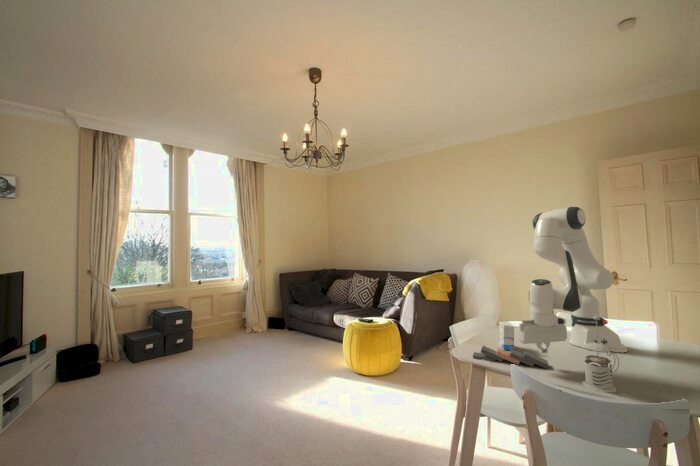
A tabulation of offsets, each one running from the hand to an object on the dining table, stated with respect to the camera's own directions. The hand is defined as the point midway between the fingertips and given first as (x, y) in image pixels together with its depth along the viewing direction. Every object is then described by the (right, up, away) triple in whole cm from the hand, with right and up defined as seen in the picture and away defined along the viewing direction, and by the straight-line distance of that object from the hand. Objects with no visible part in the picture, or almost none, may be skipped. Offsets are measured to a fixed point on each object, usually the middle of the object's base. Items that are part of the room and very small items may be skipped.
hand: (543, 352), depth 133 cm
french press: (+10, -5, -19) cm, 22 cm away
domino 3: (-8, -5, +4) cm, 10 cm away
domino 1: (-16, -6, +8) cm, 19 cm away
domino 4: (-3, -5, +1) cm, 6 cm away
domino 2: (-13, -5, +7) cm, 16 cm away
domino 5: (+1, -5, -1) cm, 5 cm away
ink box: (-4, -7, +23) cm, 24 cm away
